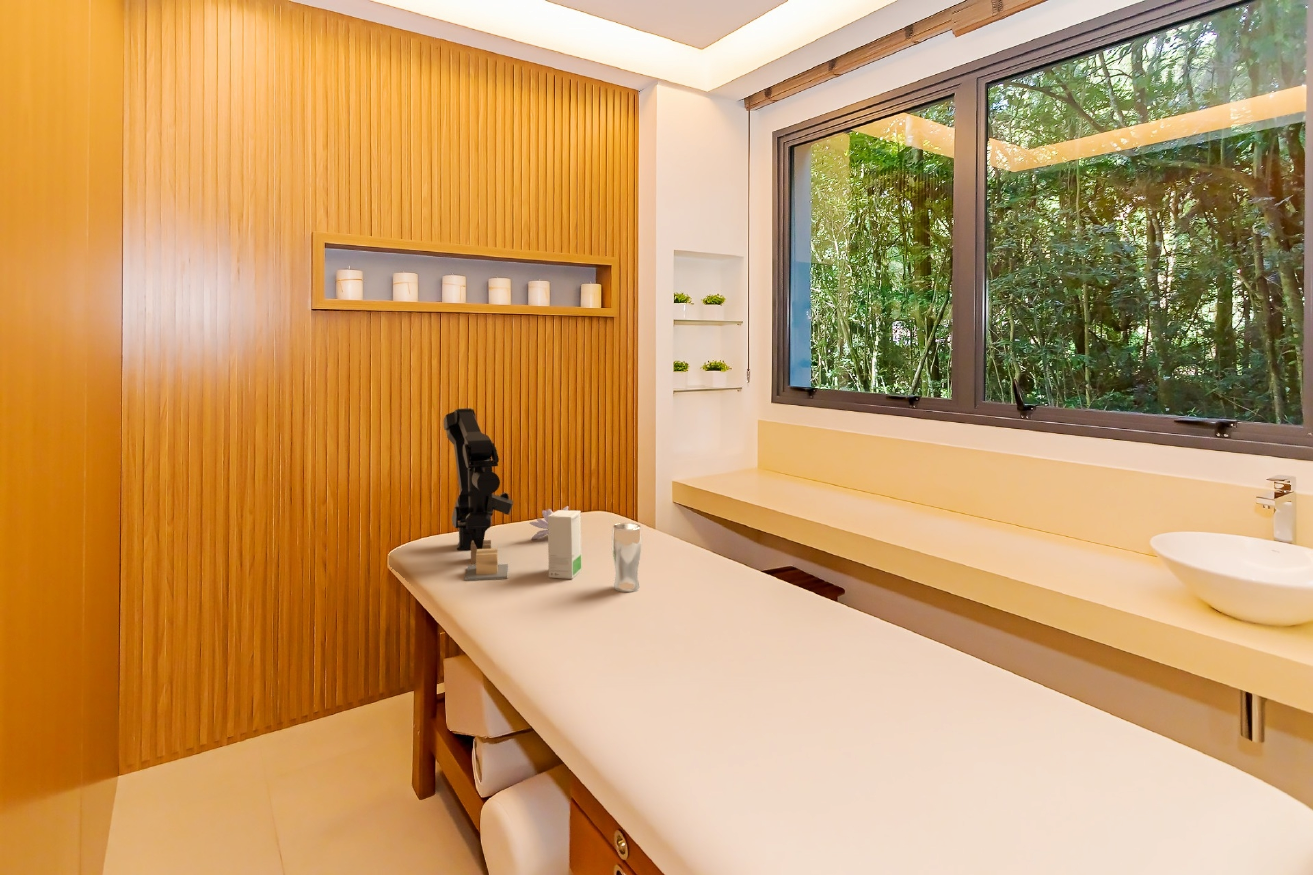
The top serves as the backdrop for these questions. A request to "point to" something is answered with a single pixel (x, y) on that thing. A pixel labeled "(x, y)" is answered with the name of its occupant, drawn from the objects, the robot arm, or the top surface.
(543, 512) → the water lily
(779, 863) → the top surface
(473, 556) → the walnut cube
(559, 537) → the skincare box
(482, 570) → the oak cube
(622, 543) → the beer glass
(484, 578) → the slate coaster
